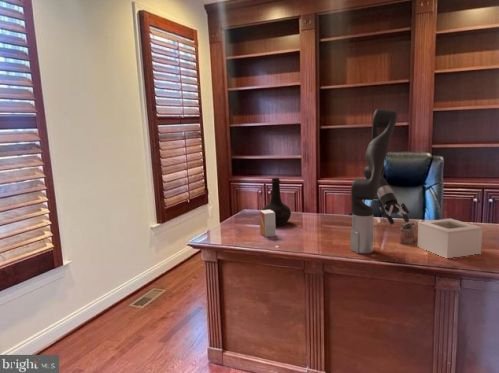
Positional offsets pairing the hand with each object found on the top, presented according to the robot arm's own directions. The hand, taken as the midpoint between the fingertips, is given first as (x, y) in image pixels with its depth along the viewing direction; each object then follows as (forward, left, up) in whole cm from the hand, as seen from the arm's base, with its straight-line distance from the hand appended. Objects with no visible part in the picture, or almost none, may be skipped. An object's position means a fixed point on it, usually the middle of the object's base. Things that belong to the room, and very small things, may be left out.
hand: (400, 222), depth 189 cm
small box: (-58, +34, -9) cm, 68 cm away
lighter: (0, -6, -9) cm, 11 cm away
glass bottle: (-46, +54, -9) cm, 72 cm away
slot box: (+9, -22, -9) cm, 25 cm away
